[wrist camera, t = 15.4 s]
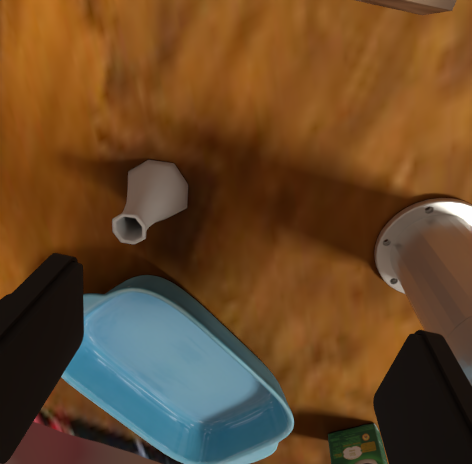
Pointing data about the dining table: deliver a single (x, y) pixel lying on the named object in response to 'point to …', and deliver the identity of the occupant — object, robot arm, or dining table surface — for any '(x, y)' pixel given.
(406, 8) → the walnut tray
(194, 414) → the casserole dish
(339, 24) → the dining table surface
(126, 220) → the flask
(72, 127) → the dining table surface
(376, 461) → the coffee box
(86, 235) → the dining table surface
